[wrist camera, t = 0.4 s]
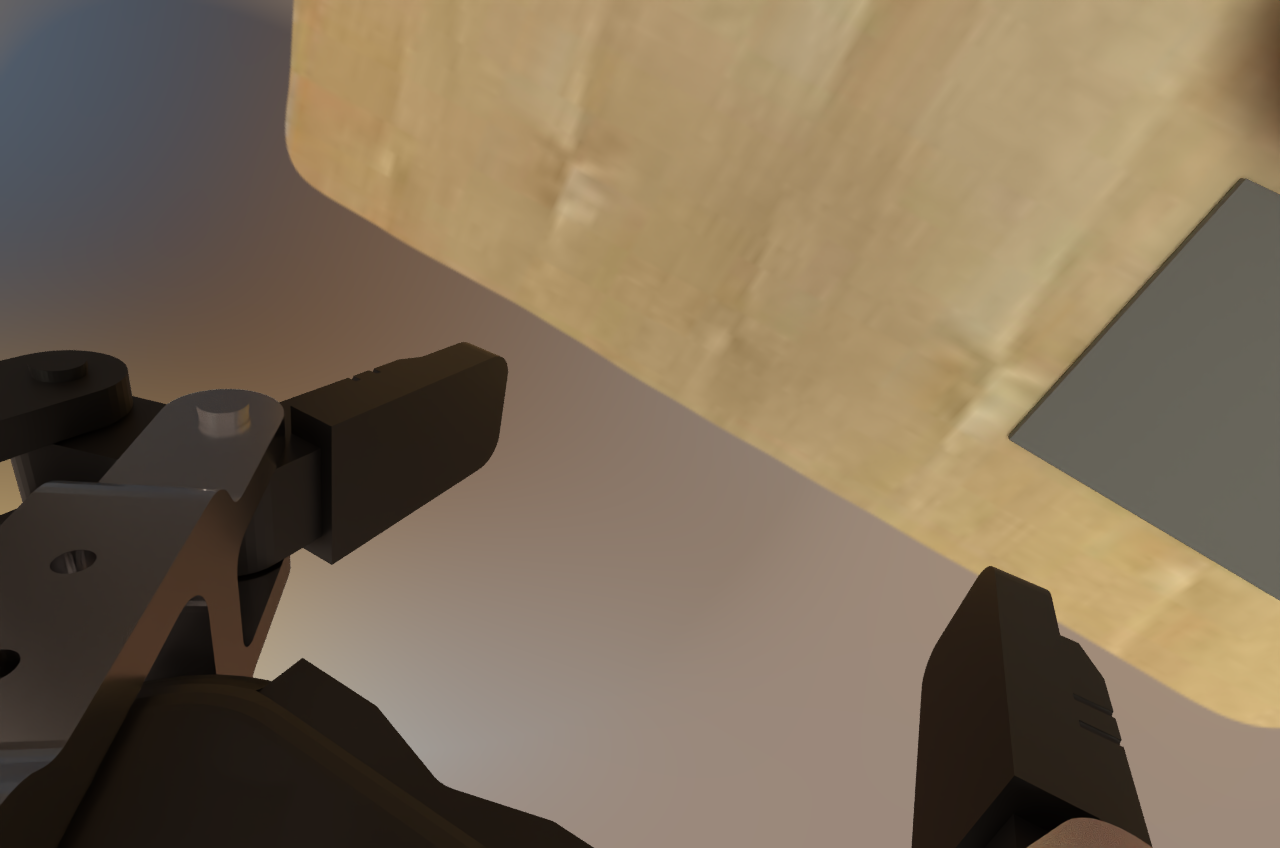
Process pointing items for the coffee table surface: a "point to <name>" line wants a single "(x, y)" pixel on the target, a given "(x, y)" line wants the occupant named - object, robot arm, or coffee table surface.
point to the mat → (1187, 395)
